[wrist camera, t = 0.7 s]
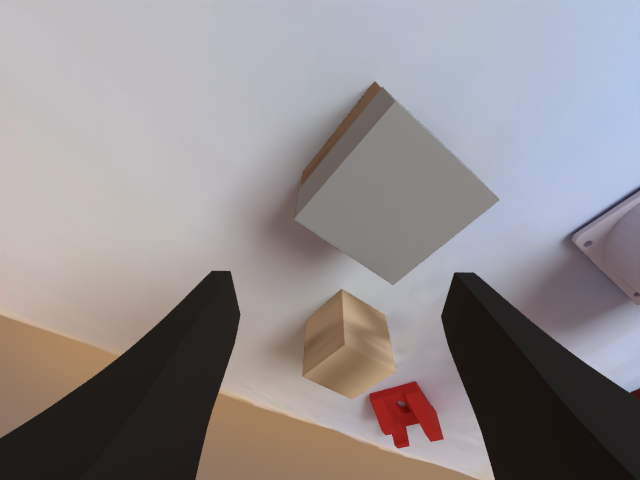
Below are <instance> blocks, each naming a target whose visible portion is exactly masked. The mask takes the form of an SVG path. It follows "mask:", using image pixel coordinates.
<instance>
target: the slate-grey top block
mask: <svg viewBox="0 0 640 480" xmlns="http://www.w3.org/2000/svg"><path fill="white" fill-rule="evenodd" d="M499 200H500V199H499V198H498V197H497V196H496V195H495V194H494V193H493V192H492V191H491V190H490V189H489V188H488V187H487V186H486V185H485V184H484V183H483V182H482V181H481V180H480V179H479V178H478V177H477V176H476V175H475V174H474V173H473V172H472V171H471V170H470V169H469V168H468V167H467V166H466V165H464V164H463V163H462V162H461V161H460V160H459V159H458V158H457V157H456V156H455V155H454V154H453V153H452V152H451V151H450V150H449V149H448V148H447V147H445V146H444V145H443V144H442V143H441V142H440V141H439V140H438V139H437V138H436V137H435V136H434V135H433V134H432V133H431V132H430V131H429V130H428V129H426V128H425V127H424V126H423V125H422V124H421V123H420V122H419V121H418V120H417V119H416V118H415V117H414V116H413V115H412V114H411V113H410V112H409V111H407V110H406V109H405V108H404V107H403V106H402V105H401V104H400V103H399V102H398V101H397V100H396V99H395V98H394V97H393V96H392V95H391V94H390V93H388V92H387V91H386V90H385V89H384V88H383V87H382V88H381V90H380V91H379V92H378V93H377V94H376V96H375V97H374V98H373V99H372V101H371V102H370V103H369V104H368V105H367V107H366V108H365V109H364V110H363V112H362V113H361V114H360V115H359V116H358V118H357V119H356V120H355V121H354V123H353V124H352V125H351V126H350V127H349V129H348V130H347V131H346V132H345V134H344V135H343V136H342V137H341V138H340V140H339V141H338V142H337V143H336V145H335V146H334V147H333V148H332V149H331V151H330V152H329V153H328V154H327V156H326V157H325V158H324V159H323V161H322V162H321V163H320V164H319V165H318V167H317V168H316V169H315V170H314V172H313V173H312V174H311V175H310V176H309V178H308V179H307V180H306V181H305V183H304V184H303V185H302V186H301V187H300V189H299V192H298V198H297V204H296V209H295V215H294V220H295V221H297V222H298V223H300V224H301V225H303V226H304V227H306V228H307V229H309V230H310V231H312V232H313V233H315V234H316V235H318V236H319V237H321V238H322V239H324V240H326V241H327V242H329V243H330V244H332V245H333V246H335V247H336V248H338V249H339V250H341V251H342V252H344V253H345V254H347V255H348V256H350V257H351V258H353V259H354V260H356V261H357V262H359V263H360V264H362V265H363V266H365V267H366V268H368V269H369V270H371V271H372V272H374V273H375V274H377V275H378V276H380V277H382V278H383V279H385V280H386V281H388V282H389V283H391V284H392V285H394V284H395V283H396V282H397V281H399V280H400V279H401V278H402V277H404V276H405V275H406V274H407V273H409V272H410V271H411V270H412V269H414V268H415V267H416V266H417V265H419V264H420V263H421V262H423V261H424V260H425V259H426V258H428V257H429V256H430V255H431V254H433V253H434V252H435V251H436V250H438V249H439V248H440V247H441V246H443V245H444V244H445V243H446V242H448V241H449V240H450V239H451V238H453V237H454V236H455V235H456V234H458V233H459V232H460V231H461V230H463V229H464V228H465V227H466V226H468V225H469V224H470V223H471V222H473V221H474V220H475V219H476V218H478V217H479V216H480V215H481V214H483V213H484V212H485V211H486V210H488V209H489V208H490V207H491V206H493V205H494V204H495V203H496V202H498V201H499Z"/></svg>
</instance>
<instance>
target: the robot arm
mask: <svg viewBox="0 0 640 480" xmlns="http://www.w3.org/2000/svg"><path fill="white" fill-rule="evenodd" d="M572 242H573V243H574V244H575V245H576V246H577V247H578V248H579V249H580V250H581V251H582V252H583V253H584V254H585V255H587V256H588V257H589V258H590V259H591V260H592V261H593V262H594V263H595V264H596V265H597V266H598V267H599V268H600V269H601V270H602V271H603V272H604V273H605V274H606V275H607V276H608V277H609V278H610V279H611V280H612V281H613V282H614V283H615V284H616V285H617V286H618V287H619V288H620V289H621V290H622V291H623V292H624V293H625V294H626V295H627V296H628V297H629V298H630V299H631V300H632V301H634V302H635V303H636V304H638V305H640V191H638V192H637V193H635V194H634V195H632V196H631V197H629V198H628V199H626V200H625V201H623V202H622V203H620V204H619V205H617V206H616V207H614V208H613V209H611V210H610V211H608V212H607V213H605V214H604V215H602V216H601V217H599V218H598V219H596V220H595V221H593V222H592V223H590V224H589V225H587V226H586V227H584V228H583V229H581V230H580V231H578V232H577V233H575V234H574V235H573V237H572ZM585 242H586V243H585ZM441 318H442V323H443V327H444V331H445V335H446V339H447V343H448V346H449V349H450V352H451V354H452V357H453V359H454V362H455V365H456V367H457V370H458V372H459V375H460V377H461V380H462V382H463V385H464V387H465V390H466V392H467V395H468V397H469V400H470V403H471V405H472V408H473V410H474V413H475V415H476V418H477V421H478V424H479V426H480V429H481V432H482V436H483V439H484V442H485V446H486V449H487V453H488V456H489V460H490V463H491V467H492V470H493V474H494V478H495V480H640V399H638V398H637V397H635V396H634V395H632V394H631V393H629V392H627V391H626V390H624V389H623V388H621V387H620V386H618V385H617V384H615V383H614V382H612V381H611V380H609V379H608V378H606V377H605V376H603V375H602V374H601V373H599V372H598V371H596V370H595V369H593V368H592V367H590V366H589V365H587V364H586V363H585V362H583V361H582V360H580V359H579V358H578V357H576V356H575V355H574V354H572V353H571V352H570V351H568V350H567V349H566V348H564V347H563V346H562V345H560V344H559V343H558V342H556V341H555V340H554V339H553V338H551V337H550V336H549V335H547V334H546V333H545V332H544V331H542V330H541V329H540V328H539V327H537V326H536V325H535V324H534V323H533V322H531V321H530V320H529V319H528V318H526V317H525V316H524V315H523V314H522V313H521V312H519V311H518V310H517V309H516V308H515V307H513V306H512V305H511V304H510V303H509V302H508V301H507V300H505V299H504V298H503V297H502V296H501V295H500V294H498V293H497V292H496V291H495V290H494V289H493V288H492V287H490V286H489V285H488V284H487V283H486V282H485V281H483V280H482V279H481V278H480V277H479V276H477V275H476V274H475V273H457V272H454V276H453V279H452V282H451V286H450V289H449V292H448V295H447V299H446V302H445V305H444V309H443V312H442V315H441ZM239 319H240V311H239V306H238V302H237V297H236V293H235V289H234V284H233V280H232V275H231V271H211V272H210V273H209V274H208V275H207V276H206V277H205V278H204V279H203V280H202V281H201V282H200V283H199V284H198V285H197V286H196V287H195V288H194V289H193V290H192V291H191V292H190V293H189V294H188V295H187V296H186V297H185V298H184V299H183V300H182V301H181V302H180V303H179V304H178V305H177V306H176V307H175V308H174V309H173V310H172V311H171V312H170V313H169V314H168V315H167V316H166V317H165V318H164V319H163V320H162V321H160V322H159V323H158V324H157V325H156V326H155V327H154V328H153V329H152V330H150V331H149V332H148V333H147V334H146V335H145V336H144V337H143V338H141V339H140V340H139V341H138V342H137V343H136V344H135V345H133V346H132V347H131V348H130V349H129V350H127V351H126V352H125V353H124V354H122V355H121V356H120V357H119V358H118V359H116V360H115V361H114V362H112V363H111V364H110V365H108V366H107V367H106V368H105V369H103V370H102V371H101V372H99V373H98V374H97V375H95V376H94V377H93V378H91V379H90V380H88V381H87V382H86V383H84V384H83V385H81V386H80V387H78V388H77V389H75V390H74V391H73V392H71V393H70V394H68V395H67V396H65V397H64V398H62V399H61V400H60V401H58V402H57V403H55V404H54V405H52V406H51V407H49V408H48V409H46V410H45V411H43V412H42V413H40V414H39V415H37V416H35V417H34V418H32V419H31V420H29V421H28V422H26V423H24V424H23V425H21V426H20V427H18V428H16V429H15V430H13V431H12V432H10V433H9V434H7V435H5V436H3V437H2V438H0V480H195V478H196V474H197V469H198V465H199V460H200V456H201V452H202V447H203V443H204V439H205V435H206V431H207V427H208V423H209V420H210V416H211V413H212V409H213V407H214V403H215V401H216V398H217V395H218V392H219V389H220V386H221V383H222V380H223V377H224V374H225V371H226V368H227V365H228V362H229V359H230V356H231V353H232V350H233V347H234V344H235V339H236V335H237V330H238V325H239Z"/></svg>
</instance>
